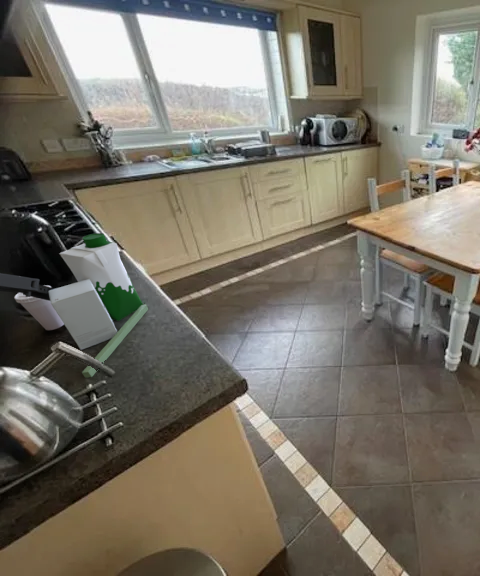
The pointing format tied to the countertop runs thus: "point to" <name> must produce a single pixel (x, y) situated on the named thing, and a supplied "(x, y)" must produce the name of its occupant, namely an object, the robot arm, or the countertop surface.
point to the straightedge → (116, 339)
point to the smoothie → (40, 311)
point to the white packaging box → (83, 313)
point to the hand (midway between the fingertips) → (20, 297)
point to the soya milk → (104, 274)
